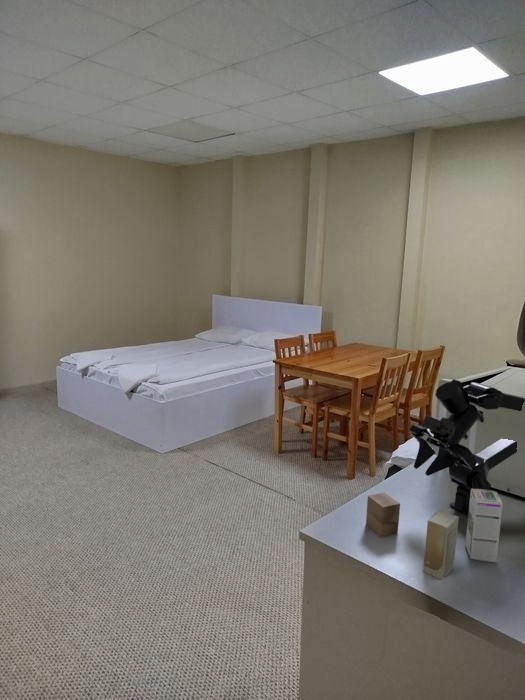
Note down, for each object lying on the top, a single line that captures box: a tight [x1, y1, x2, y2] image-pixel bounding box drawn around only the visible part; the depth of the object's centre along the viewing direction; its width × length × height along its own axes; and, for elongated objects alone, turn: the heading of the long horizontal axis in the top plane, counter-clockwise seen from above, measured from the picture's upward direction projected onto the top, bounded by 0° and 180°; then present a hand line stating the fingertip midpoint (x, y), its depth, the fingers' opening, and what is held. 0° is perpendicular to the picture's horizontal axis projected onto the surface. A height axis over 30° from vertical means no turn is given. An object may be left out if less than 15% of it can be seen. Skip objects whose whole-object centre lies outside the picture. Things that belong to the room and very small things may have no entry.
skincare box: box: [422, 509, 460, 581], centre depth 104 cm, size 6×4×12 cm
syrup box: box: [465, 489, 504, 563], centre depth 110 cm, size 6×6×14 cm
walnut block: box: [365, 492, 401, 539], centre depth 119 cm, size 5×6×8 cm
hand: (420, 471), depth 122 cm, fingers open, 4 cm apart
